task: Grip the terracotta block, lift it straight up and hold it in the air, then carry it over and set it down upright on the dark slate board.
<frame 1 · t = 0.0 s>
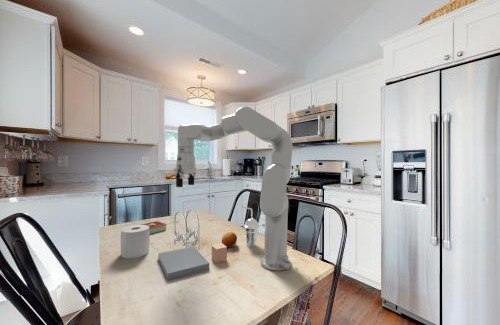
hand: (185, 185, 108), 31 cm above the table, tool pointing down, fingers open, 9 cm apart
cup with straw: (250, 245, 115), on the table
slate board: (182, 263, 93), on the table
terracotta block: (219, 259, 97), on the table
hardcover book: (145, 232, 134), on the table
toilet paper roll: (135, 253, 103), on the table
fruit: (229, 246, 114), on the table
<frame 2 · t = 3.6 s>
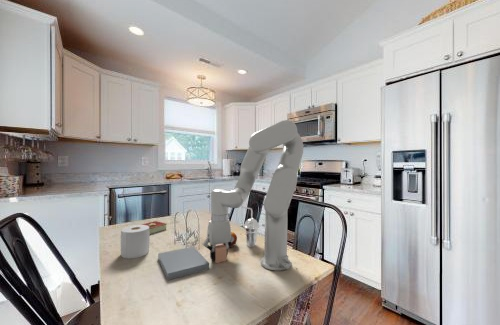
hand: (219, 257, 97), 1 cm above the table, tool pointing down, fingers closed on terracotta block, 5 cm apart
terracotta block: (219, 259, 97), on the table, touching gripper
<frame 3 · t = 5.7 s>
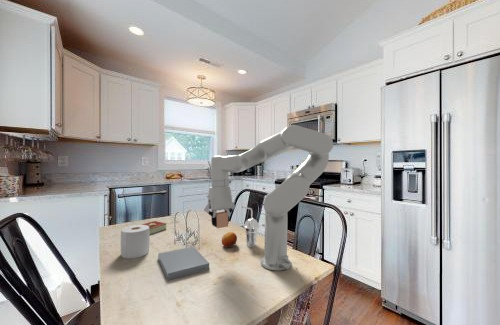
hand: (220, 224, 97), 16 cm above the table, tool pointing down, fingers closed on terracotta block, 5 cm apart
terracotta block: (220, 226, 97), point 15 cm above the table, touching gripper
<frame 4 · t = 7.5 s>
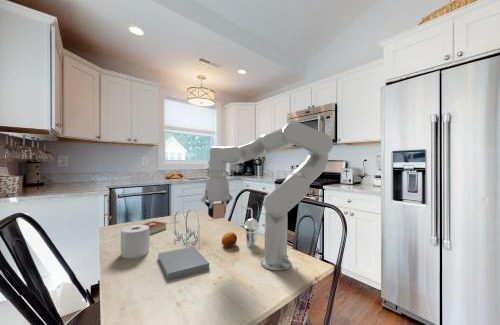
hand: (216, 215, 97), 20 cm above the table, tool pointing down, fingers closed on terracotta block, 5 cm apart
terracotta block: (216, 217, 97), point 19 cm above the table, touching gripper
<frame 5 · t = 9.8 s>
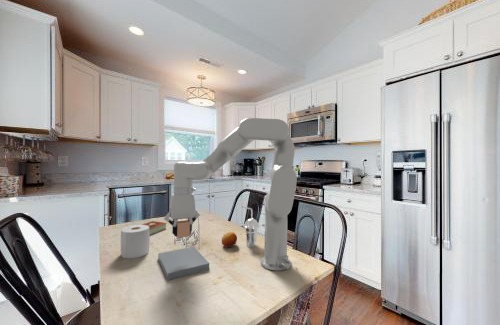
hand: (182, 233, 93), 13 cm above the table, tool pointing down, fingers closed on terracotta block, 5 cm apart
terracotta block: (182, 235, 93), point 12 cm above the table, touching gripper
when the fingers open (4 cm above the table, at t = 11.6 s): terracotta block drops 1 cm, resting on slate board.
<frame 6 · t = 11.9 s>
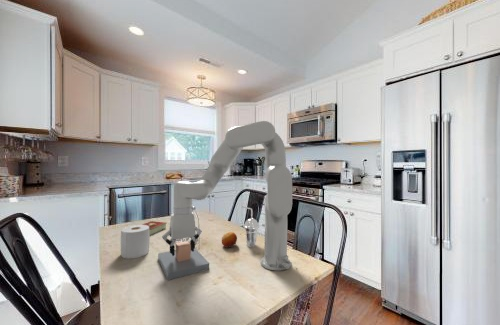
hand: (182, 252, 93), 5 cm above the table, tool pointing down, fingers open, 7 cm apart
terracotta block: (183, 258, 93), point 2 cm above the table, touching slate board
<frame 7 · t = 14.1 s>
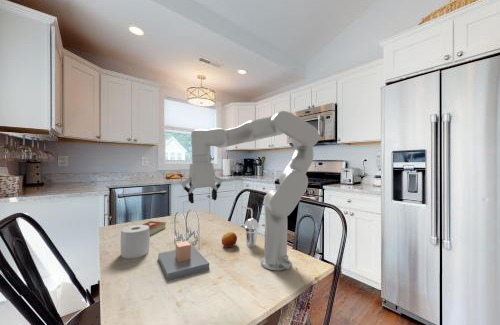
hand: (203, 201, 91), 27 cm above the table, tool pointing down, fingers open, 9 cm apart
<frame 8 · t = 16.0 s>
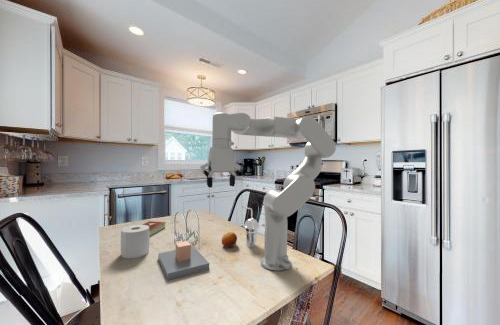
hand: (221, 186, 89), 33 cm above the table, tool pointing down, fingers open, 9 cm apart
at the end: terracotta block inside the target area on the slate board (0.2 cm from its centre), point 2.4 cm above the slate board's base; terracotta block tilted 0°; the gripper is holding nothing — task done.
